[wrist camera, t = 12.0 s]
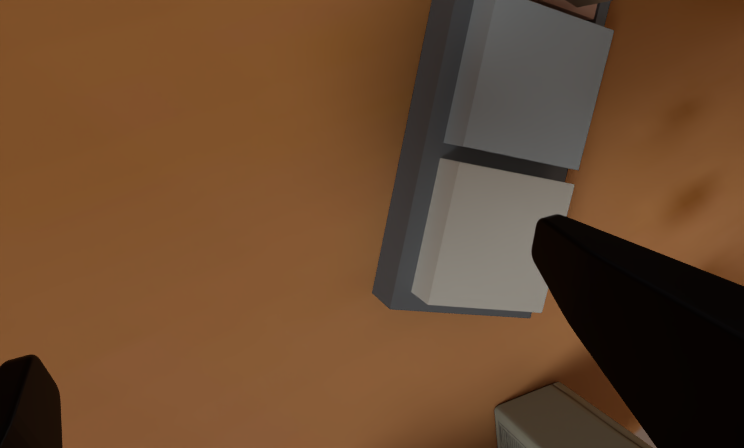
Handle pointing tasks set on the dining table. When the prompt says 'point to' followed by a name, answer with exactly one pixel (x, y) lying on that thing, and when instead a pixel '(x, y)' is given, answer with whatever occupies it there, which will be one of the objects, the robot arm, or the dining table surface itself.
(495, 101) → the key pad
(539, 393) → the skincare box
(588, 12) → the terracotta key
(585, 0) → the walnut stylus post
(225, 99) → the dining table surface
